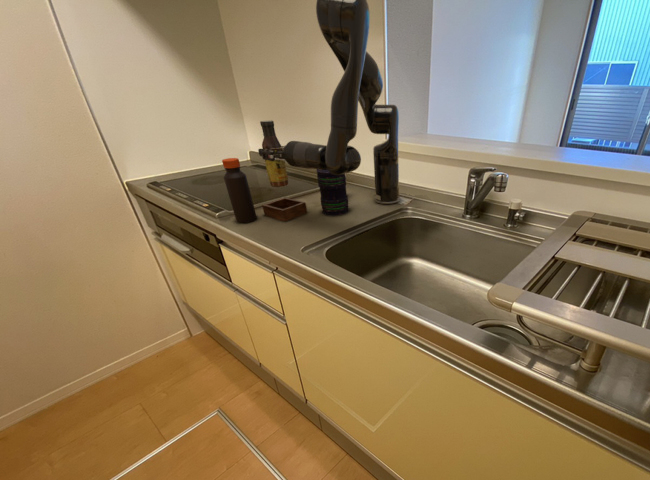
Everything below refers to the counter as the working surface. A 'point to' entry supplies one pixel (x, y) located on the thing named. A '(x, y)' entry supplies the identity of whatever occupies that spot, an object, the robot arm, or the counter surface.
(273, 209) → the box
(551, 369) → the counter surface
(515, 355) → the counter surface
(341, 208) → the storage jar
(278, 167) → the sauce bottle
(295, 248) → the counter surface
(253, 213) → the vinegar
